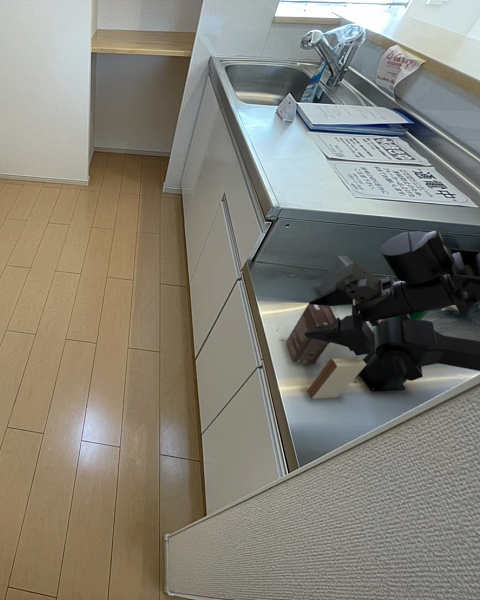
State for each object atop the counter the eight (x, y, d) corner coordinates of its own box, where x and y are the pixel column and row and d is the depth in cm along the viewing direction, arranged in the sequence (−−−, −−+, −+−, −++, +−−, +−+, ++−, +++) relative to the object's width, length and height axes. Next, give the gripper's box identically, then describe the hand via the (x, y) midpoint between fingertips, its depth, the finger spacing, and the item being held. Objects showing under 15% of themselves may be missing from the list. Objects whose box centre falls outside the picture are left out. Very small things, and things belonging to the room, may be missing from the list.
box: (315, 364, 73) (342, 327, 64) (292, 363, 73) (316, 326, 65) (306, 342, 77) (330, 304, 69) (284, 341, 78) (305, 303, 69)
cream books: (337, 397, 67) (366, 364, 60) (311, 398, 67) (336, 366, 60) (332, 389, 68) (360, 356, 61) (306, 391, 69) (331, 358, 61)
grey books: (334, 300, 85) (356, 266, 78) (325, 301, 85) (346, 266, 78) (325, 289, 88) (345, 255, 80) (317, 290, 88) (337, 256, 81)
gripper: (383, 230, 61) (292, 263, 73) (388, 296, 50) (279, 322, 62) (412, 276, 63) (318, 301, 75) (422, 349, 52) (311, 364, 64)
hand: (307, 319), depth 69 cm, fingers open, 9 cm apart
